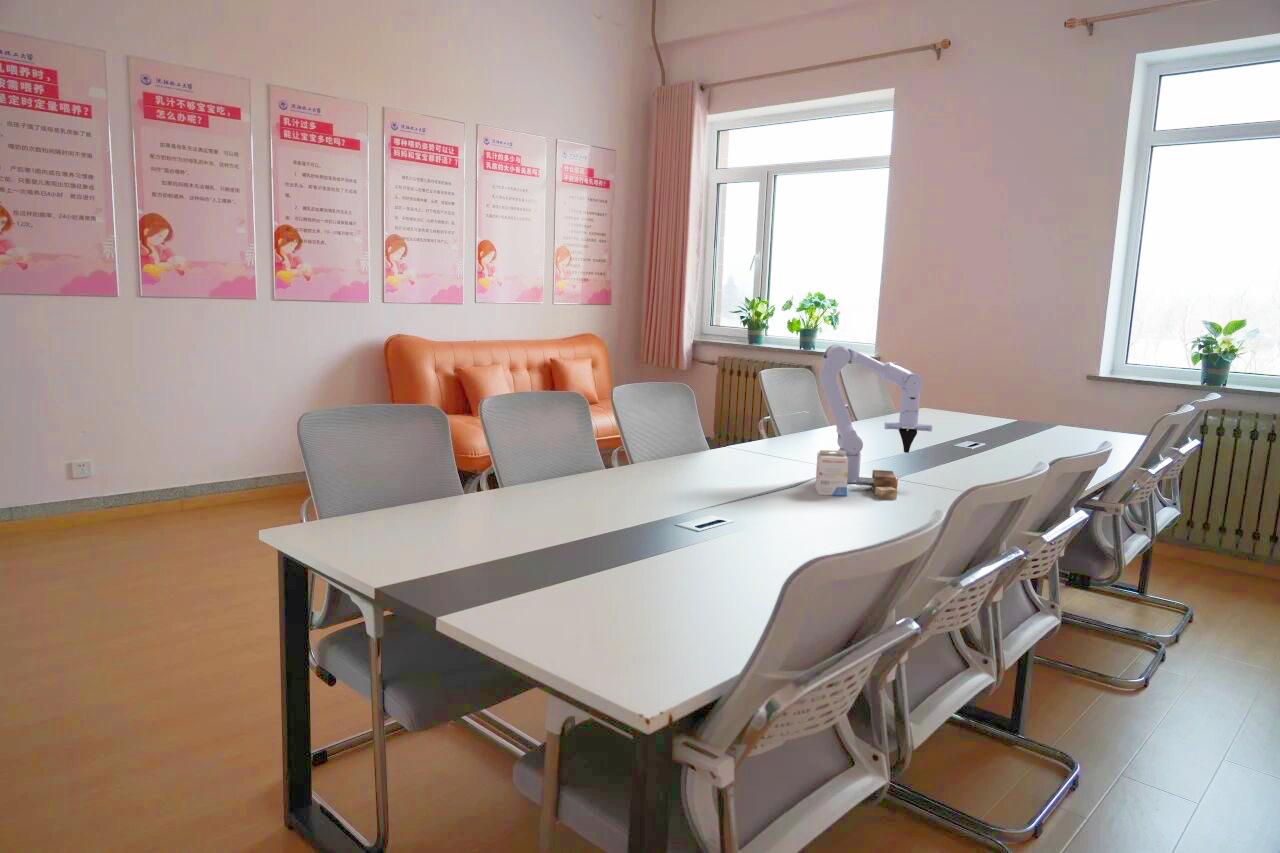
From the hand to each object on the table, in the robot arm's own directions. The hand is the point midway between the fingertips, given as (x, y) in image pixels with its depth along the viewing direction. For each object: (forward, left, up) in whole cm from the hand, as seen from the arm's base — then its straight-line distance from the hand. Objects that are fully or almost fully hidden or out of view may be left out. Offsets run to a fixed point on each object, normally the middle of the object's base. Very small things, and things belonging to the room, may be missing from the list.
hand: (906, 452), depth 276 cm
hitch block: (-8, -15, -10) cm, 20 cm away
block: (-8, -24, -10) cm, 27 cm away
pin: (-10, -15, -9) cm, 20 cm away
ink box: (-24, -22, -10) cm, 34 cm away
